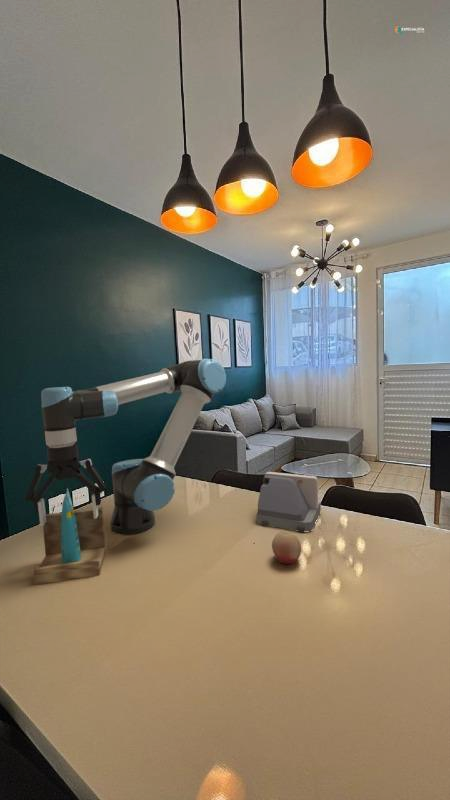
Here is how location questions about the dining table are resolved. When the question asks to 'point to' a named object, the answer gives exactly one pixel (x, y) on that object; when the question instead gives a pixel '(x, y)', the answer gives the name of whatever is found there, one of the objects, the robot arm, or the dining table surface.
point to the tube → (69, 532)
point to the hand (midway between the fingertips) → (70, 520)
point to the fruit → (286, 547)
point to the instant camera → (289, 501)
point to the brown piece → (89, 547)
